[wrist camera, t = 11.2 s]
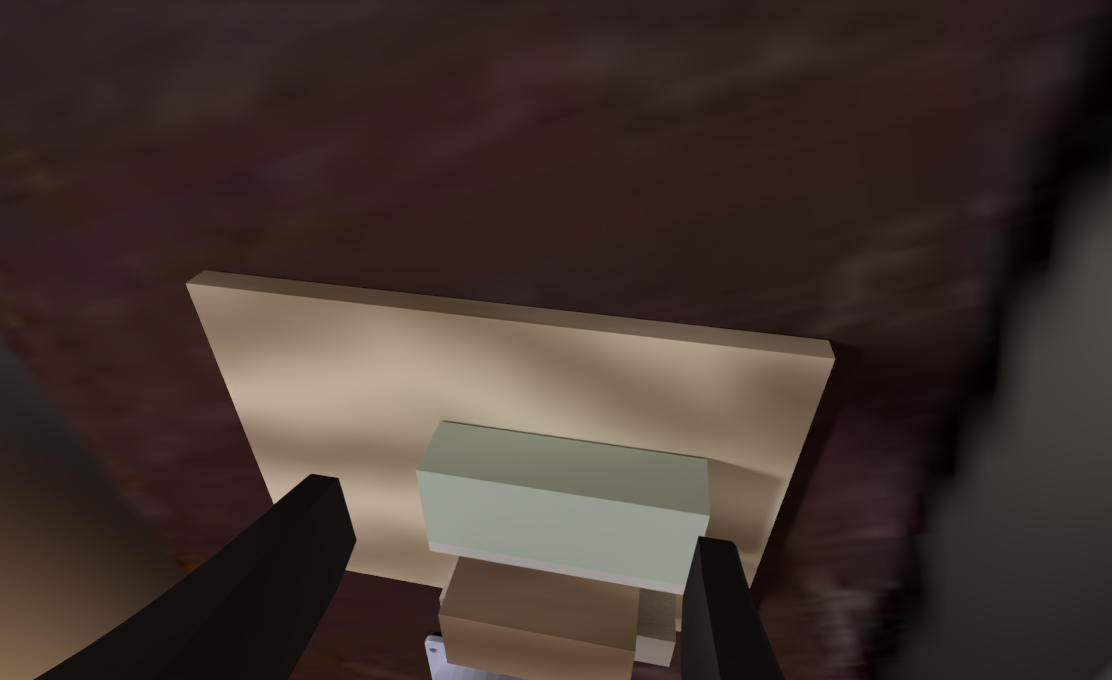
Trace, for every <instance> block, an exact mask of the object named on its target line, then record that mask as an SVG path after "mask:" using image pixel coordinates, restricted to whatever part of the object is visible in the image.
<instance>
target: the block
mask: <svg viewBox="0 0 1112 680" xmlns="http://www.w3.org/2000/svg"><path fill="white" fill-rule="evenodd" d="M639 592H640V587H634V586H628V585H623V584H617V583H611V582H606V581H600V580H594V579H588V578H583V577H577V576H571V575H566V574H560V573H554V572H548V571H543V570H537V569H531V568H526V567H520V566H514V565H509V564H503V563H497V562H491V561H486V560H480V559H474V558H469V557H463V556H459V559H458V562H457V564H456V567H455V570H454V573H453V575H452V578H451V581H450V584H449V586H448V589H447V592H446V595H445V597H444V600H443V603H442V606H441V608H440V611H439V614H438V615H439V621H440V626H441V632H442V637H443V643H444V648H445V654H446V659H447V663H449V664H454V665H459V666H464V667H469V668H474V669H479V670H484V671H489V672H494V673H499V674H504V675H508V676H513V677H518V678H523V679H528V680H630V678H631V672H632V667H633V662H634V657H635V652H636V637H637V622H638V607H639Z"/></svg>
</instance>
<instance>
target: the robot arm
mask: <svg viewBox="0 0 1112 680" xmlns="http://www.w3.org/2000/svg"><path fill="white" fill-rule="evenodd" d="M356 541H357V539H356V536H355V532H354V529H353V525H352V522H351V518H350V515H349V512H348V508H347V505H346V501H345V498H344V494H343V491H342V487H341V484H340V480H339V478H337V477H330V476H324V475H318V474H312V473H311V474H310V475H309V476H307V477H306V478H305V479H304V480H302V481H301V482H300V483H299V484H298V485H296V486H295V487H294V488H293V489H292V490H290V491H289V492H288V493H287V494H286V495H284V496H283V497H282V498H281V499H280V500H279V501H277V502H276V503H275V504H274V505H273V506H272V507H270V508H269V509H268V510H267V511H266V512H264V513H263V514H262V515H261V516H260V517H258V518H257V519H256V520H255V521H254V522H253V523H251V524H250V525H249V526H248V527H247V528H245V529H244V530H243V531H242V532H241V533H239V534H238V535H237V536H236V537H234V538H233V539H232V540H231V541H230V542H228V543H227V544H226V545H225V546H223V547H222V548H221V549H220V550H219V551H217V552H216V553H215V554H214V555H212V556H211V557H210V558H209V559H207V560H206V561H205V562H204V563H202V564H201V565H200V566H199V567H197V568H196V569H195V570H193V571H192V572H191V573H189V574H188V575H187V576H185V577H184V578H183V579H182V580H180V581H179V582H178V583H176V584H175V585H174V586H172V587H171V588H170V589H168V590H167V591H166V592H164V593H163V594H162V595H161V596H159V597H158V598H157V599H155V600H154V601H152V602H151V603H150V604H148V605H147V606H146V607H144V608H143V609H141V610H140V611H138V612H137V613H136V614H134V615H133V616H131V617H130V618H129V619H127V620H126V621H124V622H123V623H121V624H120V625H118V626H117V627H116V628H114V629H113V630H111V631H110V632H108V633H107V634H105V635H104V636H102V637H101V638H99V639H98V640H96V641H95V642H93V643H92V644H90V645H89V646H87V647H86V648H84V649H83V650H81V651H79V652H78V653H76V654H75V655H73V656H72V657H70V658H68V659H67V660H65V661H64V662H62V663H61V664H59V665H57V666H55V667H54V668H52V669H50V670H49V671H47V672H46V673H44V674H42V675H41V676H39V677H37V678H36V679H34V680H288V678H289V677H290V675H291V673H292V671H293V669H294V668H295V666H296V664H297V662H298V660H299V658H300V657H301V655H302V653H303V651H304V649H305V648H306V646H307V644H308V642H309V640H310V639H311V637H312V635H313V633H314V631H315V629H316V628H317V626H318V624H319V622H320V620H321V618H322V617H323V615H324V613H325V611H326V609H327V607H328V605H329V604H330V602H331V600H332V598H333V596H334V594H335V592H336V590H337V588H338V586H339V584H340V581H341V579H342V576H343V574H344V572H345V569H346V567H347V564H348V562H349V559H350V557H351V554H352V552H353V549H354V546H355V544H356ZM425 646H426V651H427V656H428V660H429V665H430V669H431V674H432V679H433V680H528V679H523V678H518V677H513V676H508V675H504V674H499V673H494V672H489V671H484V670H479V669H474V668H469V667H464V666H459V665H454V664H449V663H447V659H446V654H445V648H444V643H443V637H440V636H435V635H429V636H428V637H427V638H426V641H425ZM680 657H681V676H682V680H785V679H784V676H783V674H782V671H781V669H780V667H779V664H778V662H777V659H776V657H775V655H774V652H773V650H772V647H771V645H770V643H769V640H768V638H767V635H766V633H765V630H764V628H763V625H762V622H761V620H760V617H759V614H758V611H757V609H756V606H755V603H754V600H753V598H752V595H751V592H750V589H749V586H748V583H747V580H746V577H745V574H744V570H743V567H742V564H741V560H740V557H739V553H738V549H737V546H736V545H735V544H734V543H733V542H732V541H728V540H722V539H716V538H709V537H703V536H698V539H697V543H696V547H695V551H694V555H693V559H692V563H691V567H690V570H689V574H688V578H687V582H686V586H685V590H684V594H683V598H682V621H681V650H680Z"/></svg>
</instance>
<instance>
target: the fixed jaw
mask: <svg viewBox="0 0 1112 680" xmlns="http://www.w3.org/2000/svg"><path fill="white" fill-rule="evenodd" d="M458 559H459V556H457V555H455V558H454V560H453V563H452V566H451V569H450V571H449V574H448V577H447V579H446V582H445V585H444V588H443V590H442V593H441V596H440V598H439V599H440V605H441V606H442V603H443V600H444V597H445V595H446V592H447V589H448V586H449V584H450V581H451V578H452V575H453V573H454V570H455V567H456V564H457V562H458ZM675 631H676V594H674V593H668V592H663V591H657V590H651V589H646V588H640V592H639V607H638V622H637V637H636V652H635V657H634V660H636V661H641V662H646V663H651V664H657V665H662V666H667V667H669V665H670V661H671V657H672V653H673V650H674V646H675Z"/></svg>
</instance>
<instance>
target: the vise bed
mask: <svg viewBox="0 0 1112 680" xmlns="http://www.w3.org/2000/svg"><path fill="white" fill-rule="evenodd" d="M186 285H187V288H188V290H189V293H190V295H191V298H192V300H193V303H194V305H195V308H196V310H197V313H198V315H199V318H200V320H201V323H202V325H203V328H204V330H205V333H206V335H207V338H208V340H209V343H210V345H211V348H212V350H213V353H214V355H215V358H216V360H217V363H218V365H219V368H220V370H221V373H222V375H223V378H224V380H225V383H226V385H227V388H228V390H229V393H230V395H231V398H232V400H233V403H234V405H235V408H236V410H237V413H238V415H239V418H240V420H241V423H242V425H243V428H244V430H245V433H246V435H247V438H248V440H249V443H250V445H251V448H252V450H253V453H254V455H255V458H256V460H257V463H258V465H259V468H260V470H261V473H262V475H263V478H264V480H265V483H266V485H267V488H268V490H269V493H270V495H271V498H272V500H273V503H274V504H275V503H276V502H277V501H279V500H280V499H281V498H282V497H283V496H284V495H286V494H287V493H288V492H289V491H290V490H292V489H293V488H294V487H295V486H296V485H298V484H299V483H300V482H301V481H302V480H304V479H305V478H306V477H307V476H309V475H310V474H311V473H312V474H318V475H324V476H330V477H337V478H339V480H340V484H341V487H342V491H343V494H344V498H345V501H346V505H347V508H348V512H349V515H350V518H351V522H352V525H353V529H354V532H355V536H356V539H357V541H356V544H355V546H354V549H353V552H352V554H351V557H350V559H349V562H348V564H347V567H346V569H345V570H349V571H354V572H360V573H365V574H371V575H376V576H381V577H387V578H392V579H398V580H403V581H409V582H414V583H419V584H425V585H430V586H436V587H441V588H444V585H445V582H446V579H447V577H448V574H449V571H450V569H451V566H452V563H453V560H454V558H455V555H451V554H446V553H440V552H434V551H430V549H429V543H428V537H427V532H426V526H425V520H424V514H423V509H422V503H421V497H420V492H419V486H418V480H417V474H416V468H417V466H418V464H419V462H420V460H421V458H422V456H423V455H424V453H425V451H426V449H427V447H428V445H429V443H430V441H431V439H432V437H433V435H434V433H435V431H436V429H437V427H438V425H439V423H440V421H442V422H449V423H456V424H463V425H470V426H477V427H484V428H491V429H498V430H505V431H512V432H519V433H526V434H533V435H540V436H547V437H554V438H561V439H568V440H575V441H582V442H589V443H596V444H603V445H610V446H617V447H624V448H631V449H638V450H645V451H652V452H659V453H666V454H673V455H680V456H687V457H694V458H701V459H707V462H708V483H709V505H710V518H709V521H708V525H707V529H706V533H705V536H704V537H709V538H716V539H722V540H728V541H732V542H733V543H734V544H735V545H736V546H737V549H738V553H739V557H740V560H741V564H742V567H743V570H744V574H745V577H746V580H747V583H748V586H749V589H750V587H751V584H752V581H753V579H754V576H755V573H756V571H757V568H758V565H759V563H760V560H761V557H762V554H763V552H764V549H765V546H766V544H767V541H768V538H769V536H770V533H771V530H772V528H773V525H774V522H775V520H776V517H777V514H778V511H779V509H780V506H781V503H782V501H783V498H784V495H785V493H786V490H787V487H788V485H789V482H790V479H791V477H792V474H793V471H794V468H795V466H796V463H797V460H798V458H799V455H800V452H801V450H802V447H803V444H804V442H805V439H806V436H807V434H808V431H809V428H810V425H811V423H812V420H813V417H814V415H815V412H816V409H817V407H818V404H819V401H820V399H821V396H822V393H823V391H824V388H825V385H826V382H827V380H828V377H829V374H830V372H831V369H832V366H833V364H834V361H835V357H834V354H833V351H832V348H831V346H830V343H829V340H821V339H812V338H803V337H794V336H785V335H776V334H767V333H759V332H750V331H741V330H732V329H723V328H714V327H705V326H696V325H687V324H679V323H670V322H661V321H652V320H643V319H634V318H625V317H616V316H608V315H599V314H590V313H581V312H572V311H563V310H554V309H545V308H536V307H528V306H519V305H510V304H501V303H492V302H483V301H474V300H465V299H456V298H448V297H439V296H430V295H421V294H412V293H403V292H394V291H385V290H376V289H368V288H359V287H350V286H341V285H332V284H323V283H314V282H305V281H297V280H288V279H279V278H270V277H261V276H252V275H243V274H234V273H225V272H217V271H208V270H204V271H203V272H201V273H200V274H198V275H197V276H195V277H194V278H193V279H191V280H190V281H188V282H187V283H186ZM682 598H683V595H680V594H676V631H681V621H682Z"/></svg>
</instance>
